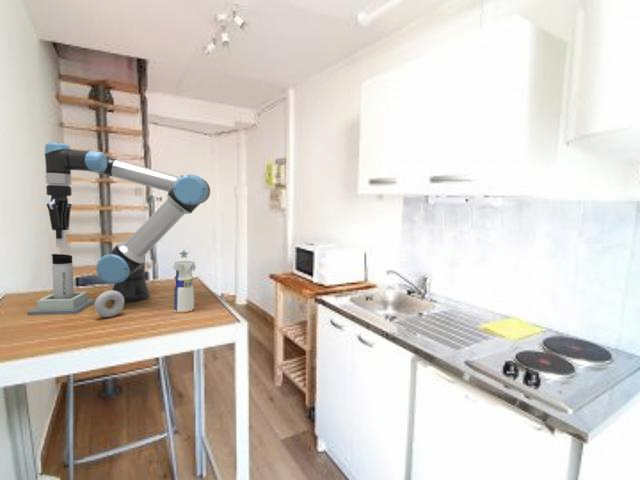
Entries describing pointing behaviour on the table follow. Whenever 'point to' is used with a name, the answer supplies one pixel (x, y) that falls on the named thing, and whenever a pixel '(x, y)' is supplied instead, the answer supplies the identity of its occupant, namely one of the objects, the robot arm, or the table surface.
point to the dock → (61, 304)
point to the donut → (104, 298)
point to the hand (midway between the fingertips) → (61, 246)
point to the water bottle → (184, 284)
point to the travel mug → (62, 276)
